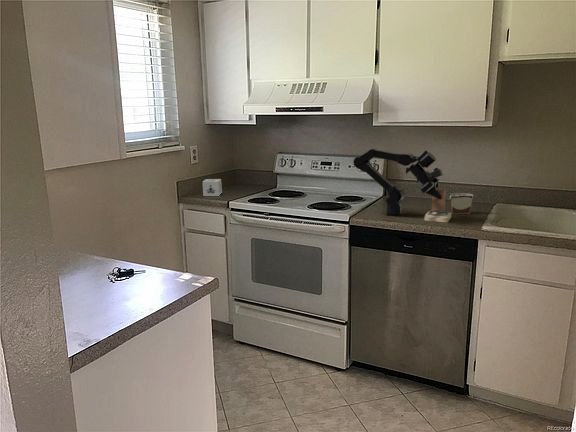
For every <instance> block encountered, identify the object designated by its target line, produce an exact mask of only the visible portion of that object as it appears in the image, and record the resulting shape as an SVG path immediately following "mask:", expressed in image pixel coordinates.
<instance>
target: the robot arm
mask: <svg viewBox="0 0 576 432" xmlns="http://www.w3.org/2000/svg"><path fill="white" fill-rule="evenodd" d="M374 158H378V159H384V160H387V161H393V162H395V163H397V164H400V165H401V166H404V167H406V168H405V174H408V173H411V174H412V175H413V177H414V178H416V181H417V182H419V183H420V184H421V187H420V191H421V192H422V194H424V193H425V194H427V195H429V196H431V197H432V196H434V197H436V198H438V199H441V198H442V197H441V196H440V194H439V193H438V191H437V190H436V187H438V188H440V186H439V185H440V178H439V177H441V176H443V172H442V171H443V170H441V168H439V167H435V168H433V170H432V171H431V172H430V171H429V170H425V168H427V169H428V168H429V167H431V165H433V164H434V162H436V161H437V158H436V156H434V154H432V153H431V151H428V150H424V152H423V153H421V155H420V156H418V155H417V156H415V155H414V154H413V153H412V152H401V153H398V152H394V151H393V152H392V151H387V150H383V149H378V148H370V149H369V150H368V151H366V152H364V154H362V155H360V156H357V157H354V159H353V166H354V167H355V168H356V169H358V170H360V171H363V172H364V173H366V174H367V175H368V176H370V177H371V178H372V179H373V180H374V181H375V182H376V183H377V184H378V185H379V186H380V187H382V188H383V189H384V190H385V191H386V193H387V196H389V197H388V198H386V200H385V202H386V204H387V205H386V214H385V215H386V216H392V217H399V216H400V215H401V214H402V200H404V198H405V197H406V191H405V189H404V187H402V186H401V185H400V184H399V183H396V184H393V183H392V182H390V181H389V180H388V178H387V177H385V176H384V175H383V174H382V173H380V171H378V170H377V169H376V168H375V167H374V166H373V165H372V163H371V161H372V159H374ZM414 163H415V164H414ZM407 166H408V167H407Z"/></svg>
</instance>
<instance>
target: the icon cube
mask: <svg viewBox="0 0 576 432" xmlns="http://www.w3.org/2000/svg"><path fill="white" fill-rule="evenodd" d="M222 185H223V183H222V179H221V178H208V179H207V178H206V179H204V180H203V181H202V195H203V196H219V195H220V194H221V193H222V194H223V188H222ZM203 196H202V197H203ZM219 197H220V196H219Z"/></svg>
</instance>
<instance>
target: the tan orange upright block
mask: <svg viewBox="0 0 576 432" xmlns="http://www.w3.org/2000/svg"><path fill="white" fill-rule="evenodd" d="M436 190H437V191H438V193H439V194H440V196H441V197H442V198H441V199H438V198H436V197H434V196H432V195H431V210H432V211H437V212H444V211H446V198H447V187H439V188H438V187H436Z"/></svg>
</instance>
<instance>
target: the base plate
mask: <svg viewBox="0 0 576 432" xmlns="http://www.w3.org/2000/svg"><path fill="white" fill-rule="evenodd" d="M451 219H452V213H451V212H449V211H448V210H447V211H446V210H444V212H437V211H432V209H431V210H428V211H427V212H426V213H425V215H424V221H426V222H427V221H428V222H437V223H438V222H439V223H449V222H450V220H451Z"/></svg>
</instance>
